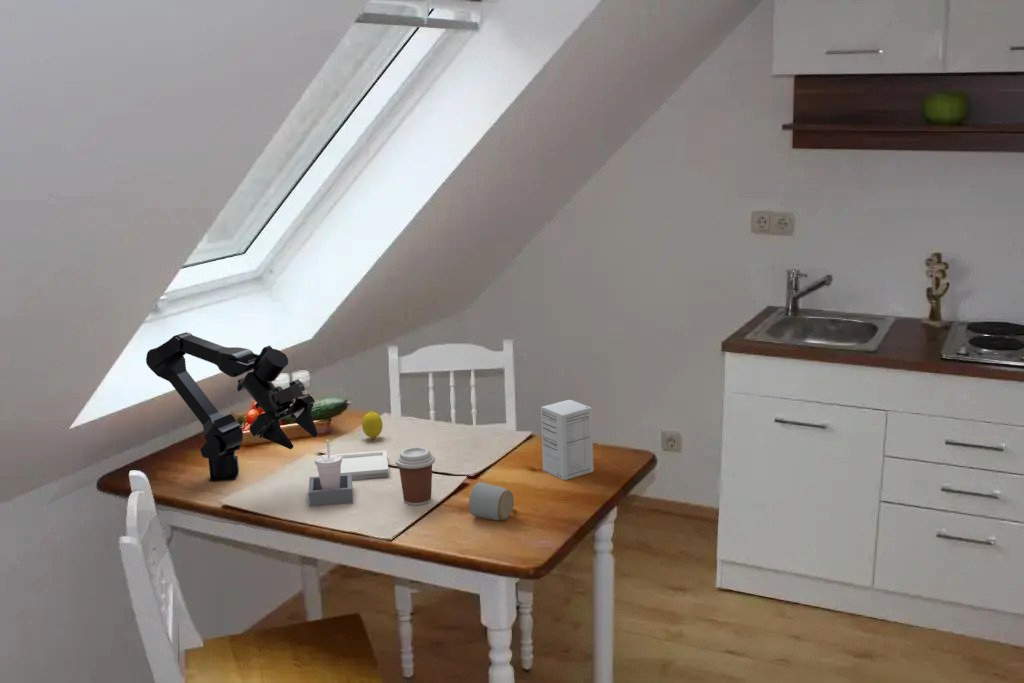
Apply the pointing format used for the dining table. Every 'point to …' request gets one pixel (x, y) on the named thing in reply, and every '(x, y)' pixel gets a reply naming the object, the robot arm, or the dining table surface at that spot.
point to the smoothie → (329, 469)
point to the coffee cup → (416, 475)
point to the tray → (365, 464)
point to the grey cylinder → (490, 501)
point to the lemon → (372, 424)
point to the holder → (330, 492)
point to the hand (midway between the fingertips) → (304, 442)
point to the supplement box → (567, 439)
